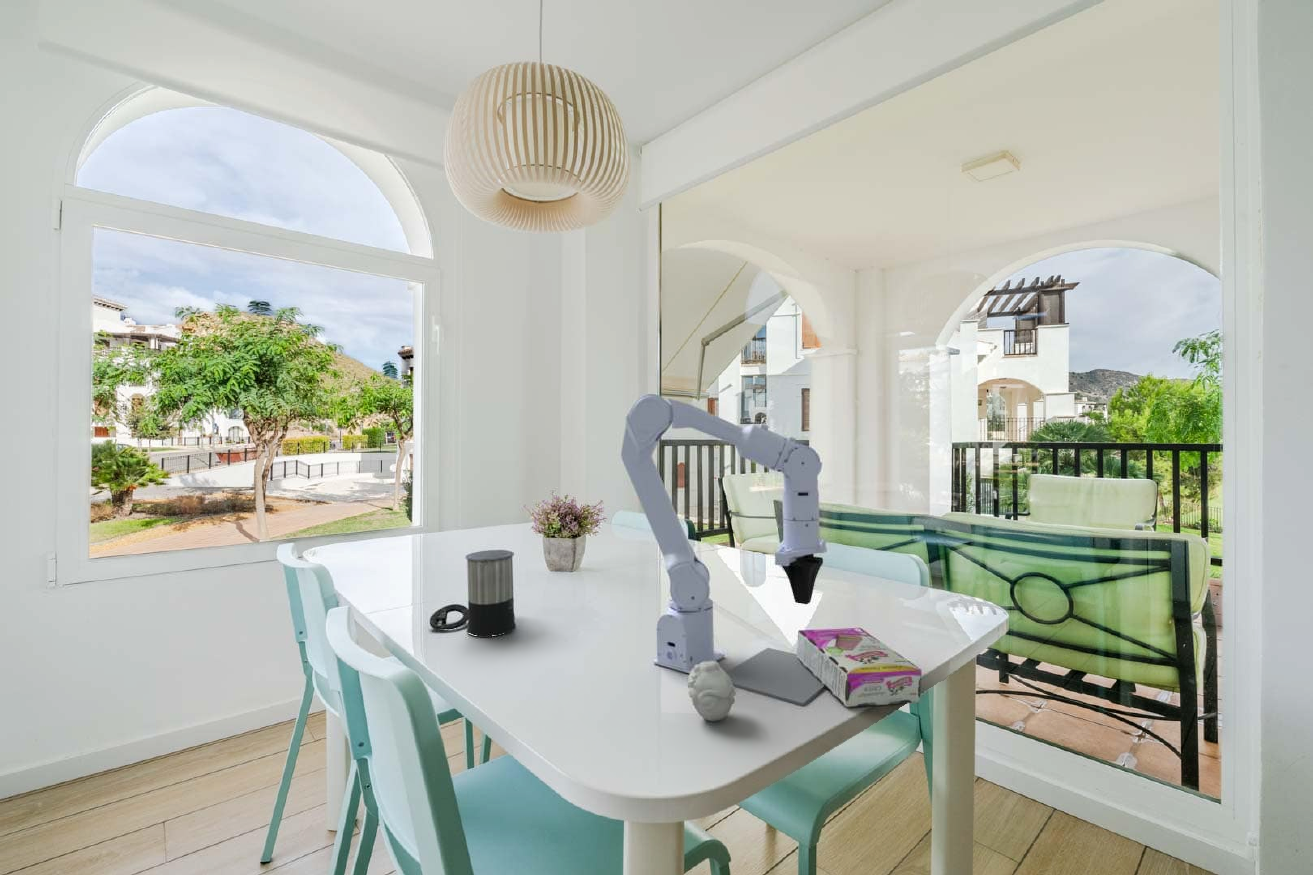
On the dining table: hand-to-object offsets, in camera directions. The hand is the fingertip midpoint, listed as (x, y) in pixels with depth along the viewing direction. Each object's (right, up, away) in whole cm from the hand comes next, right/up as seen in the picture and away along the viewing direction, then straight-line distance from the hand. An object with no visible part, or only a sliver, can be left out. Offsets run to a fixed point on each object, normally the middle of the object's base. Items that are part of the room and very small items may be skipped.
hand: (802, 602), depth 96 cm
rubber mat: (-4, -10, -6) cm, 12 cm away
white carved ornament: (-16, -10, -19) cm, 27 cm away
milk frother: (-60, -11, +20) cm, 64 cm away
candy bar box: (+4, -6, 0) cm, 7 cm away
